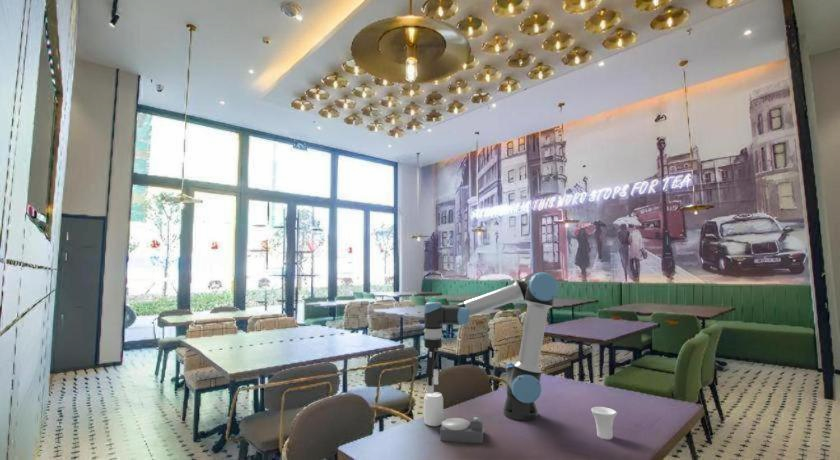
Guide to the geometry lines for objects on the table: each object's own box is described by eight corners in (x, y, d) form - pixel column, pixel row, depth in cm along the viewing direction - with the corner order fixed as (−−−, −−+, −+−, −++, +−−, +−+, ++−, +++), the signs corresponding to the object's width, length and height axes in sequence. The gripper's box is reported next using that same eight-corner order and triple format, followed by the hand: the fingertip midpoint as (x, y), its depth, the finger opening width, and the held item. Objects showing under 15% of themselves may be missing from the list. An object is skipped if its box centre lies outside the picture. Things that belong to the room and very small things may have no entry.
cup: (617, 443, 147) (615, 415, 148) (590, 438, 152) (589, 411, 153) (619, 435, 154) (618, 408, 155) (594, 430, 159) (592, 404, 160)
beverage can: (441, 427, 163) (441, 397, 164) (422, 426, 164) (422, 396, 165) (444, 420, 170) (444, 392, 172) (426, 419, 172) (426, 391, 173)
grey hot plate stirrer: (483, 431, 158) (482, 411, 159) (482, 443, 147) (482, 421, 148) (443, 429, 161) (443, 409, 162) (440, 440, 150) (440, 419, 151)
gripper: (429, 333, 184) (428, 380, 182) (419, 342, 160) (418, 396, 157) (445, 334, 183) (445, 381, 180) (437, 343, 158) (437, 398, 156)
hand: (432, 388), depth 169 cm, fingers open, 13 cm apart
